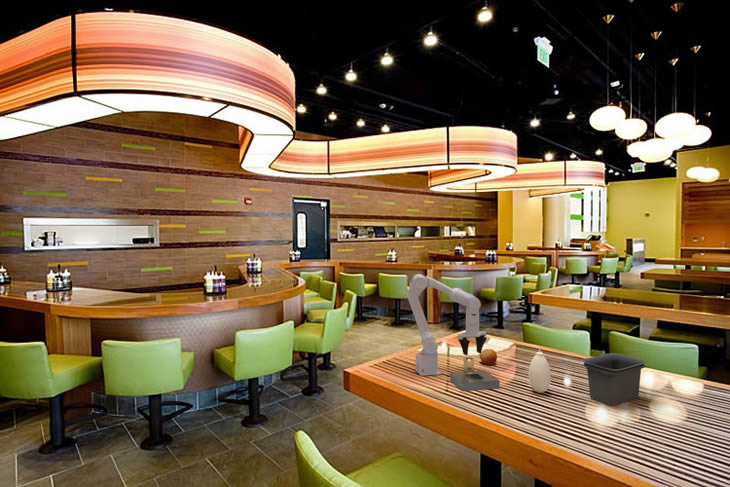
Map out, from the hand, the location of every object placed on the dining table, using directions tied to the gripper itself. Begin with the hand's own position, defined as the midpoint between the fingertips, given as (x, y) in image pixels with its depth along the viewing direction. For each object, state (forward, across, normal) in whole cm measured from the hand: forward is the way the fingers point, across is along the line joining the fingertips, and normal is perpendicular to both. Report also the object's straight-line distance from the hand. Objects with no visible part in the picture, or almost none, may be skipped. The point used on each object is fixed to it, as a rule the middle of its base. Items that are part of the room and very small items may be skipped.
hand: (472, 353), depth 173 cm
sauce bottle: (+9, +9, -28) cm, 31 cm away
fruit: (+9, +16, +7) cm, 19 cm away
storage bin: (+9, +29, -43) cm, 53 cm away
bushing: (+9, -2, -1) cm, 9 cm away
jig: (+9, -8, -11) cm, 16 cm away
